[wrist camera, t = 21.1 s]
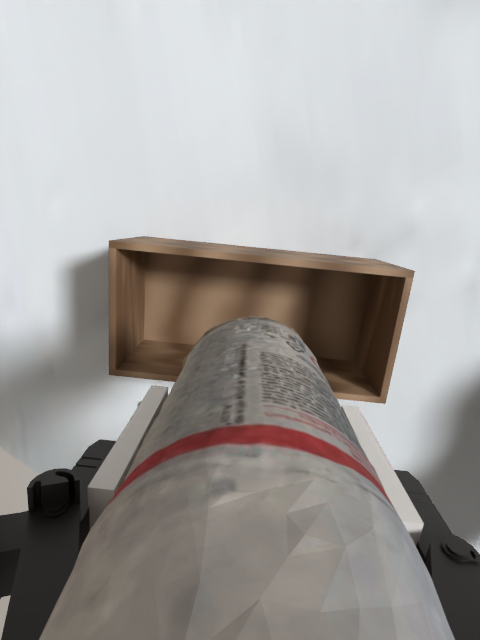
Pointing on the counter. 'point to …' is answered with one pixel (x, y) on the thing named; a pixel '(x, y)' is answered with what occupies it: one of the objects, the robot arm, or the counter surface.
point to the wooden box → (255, 307)
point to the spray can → (249, 515)
